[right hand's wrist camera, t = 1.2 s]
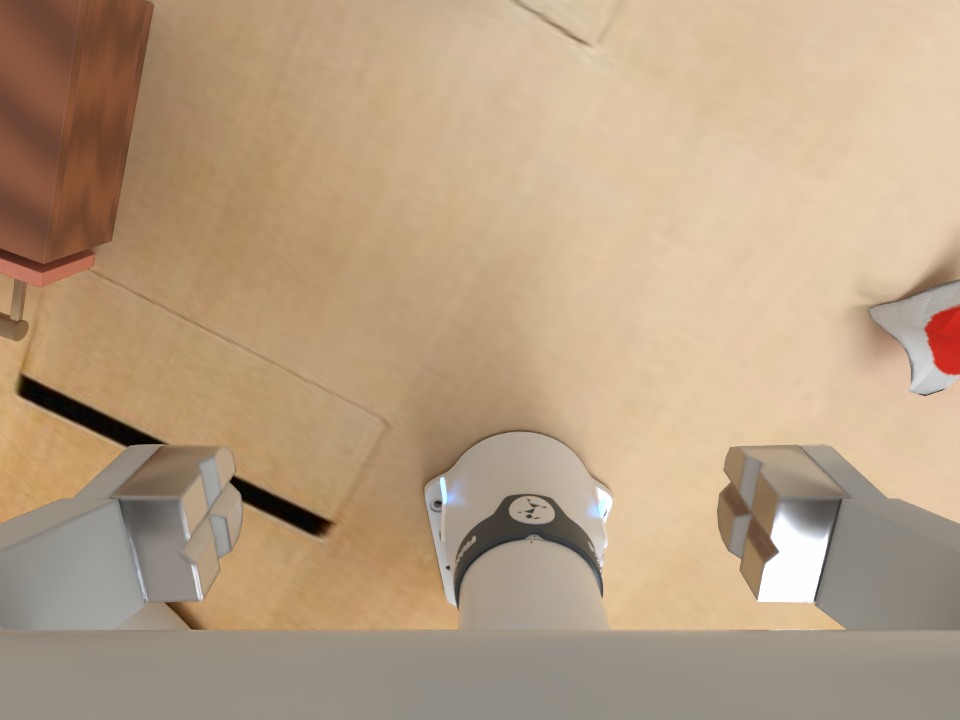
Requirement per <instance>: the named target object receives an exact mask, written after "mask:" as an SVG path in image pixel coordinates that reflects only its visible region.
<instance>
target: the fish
mask: <svg viewBox="0 0 960 720" xmlns="http://www.w3.org/2000/svg"><path fill="white" fill-rule="evenodd" d="M868 312H869V316H870V318H871V319H872V320H873V321H875V322H876V323H877V324H878V325H879V326H881V327H882V328H883V329H885V330H886V331H887V332H888V333H889V334H890V335H892V336H893V337H894V338H895V339H896V340H897V341H899V342H900V343H901V344H902V345H903V347H904V349H905V351H906V353H907V354H908V357H909V362H910V367H911V385H910V390H909V392H912V393H916V394H920V395H923V396H927V395H930V394H933V393H936V392H939V391H942V390H944V389H946V388H947V387H948V386H950V385H951V384H952V383H954V382H955V381H956V380H957V379H958V378H959V377H960V280H956V281H952V282H948V283H944V284H941V285H938V286H935V287H933V288H930V289H928V290H925V291H923V292H920V293H918V294H915V295H912V296H910V297H907V298H905V299H902V300H900V301H896V302H891V303H885V304H881V305H878V306H874V307H871V308H870V309H868Z"/></svg>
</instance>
